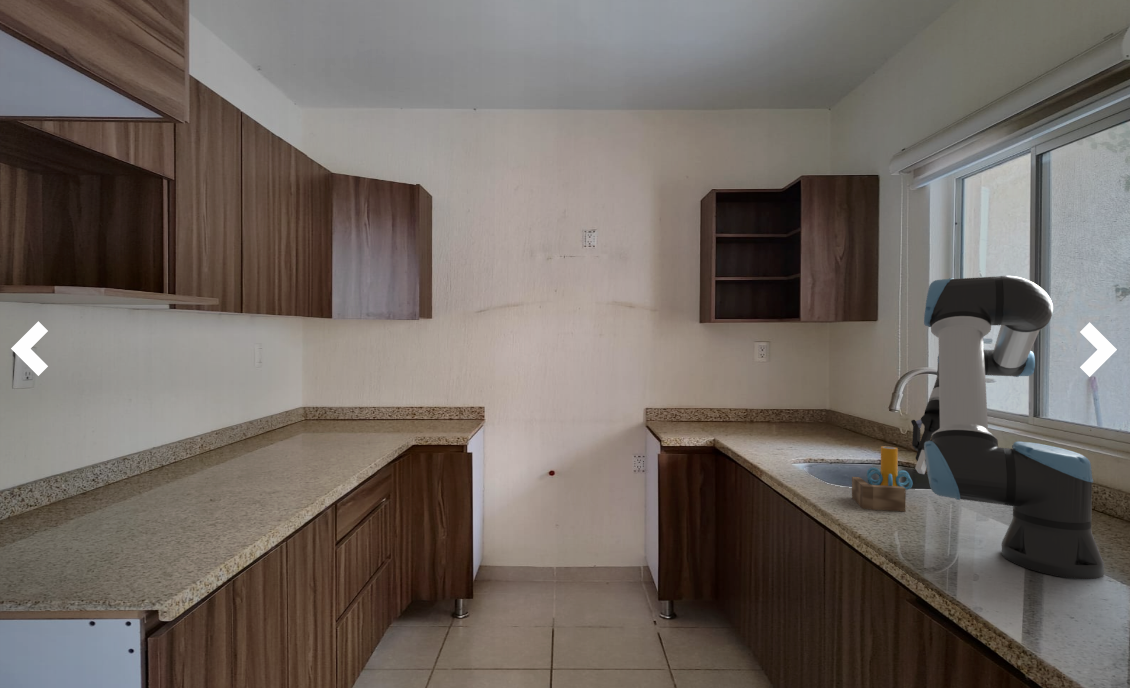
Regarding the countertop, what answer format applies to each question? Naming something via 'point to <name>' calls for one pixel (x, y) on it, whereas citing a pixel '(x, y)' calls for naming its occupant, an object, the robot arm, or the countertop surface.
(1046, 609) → the countertop surface
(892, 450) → the yellow and blue tube
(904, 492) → the v block
